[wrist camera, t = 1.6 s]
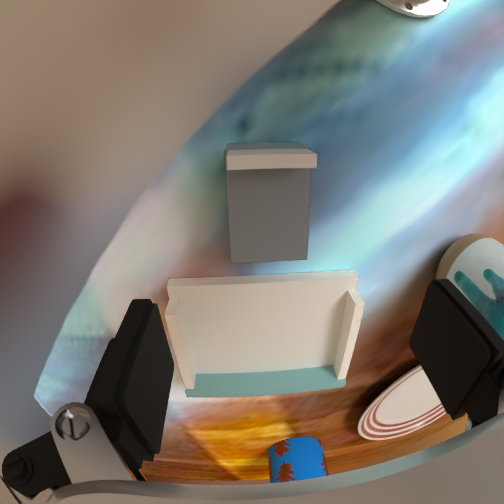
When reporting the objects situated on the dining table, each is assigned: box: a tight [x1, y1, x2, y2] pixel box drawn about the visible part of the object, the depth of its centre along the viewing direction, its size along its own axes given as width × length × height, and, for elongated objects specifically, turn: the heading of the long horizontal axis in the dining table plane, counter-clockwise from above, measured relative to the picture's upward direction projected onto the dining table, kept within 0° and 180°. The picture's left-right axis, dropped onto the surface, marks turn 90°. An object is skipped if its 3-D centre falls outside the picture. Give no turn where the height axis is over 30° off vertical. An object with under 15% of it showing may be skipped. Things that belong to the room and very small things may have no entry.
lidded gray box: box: [224, 142, 317, 263], centre depth 21 cm, size 8×6×9 cm
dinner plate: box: [358, 365, 446, 440], centre depth 41 cm, size 28×27×3 cm
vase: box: [436, 234, 504, 340], centre depth 21 cm, size 11×11×19 cm
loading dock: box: [164, 269, 365, 397], centre depth 31 cm, size 14×19×4 cm
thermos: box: [268, 437, 329, 483], centre depth 37 cm, size 11×11×25 cm
